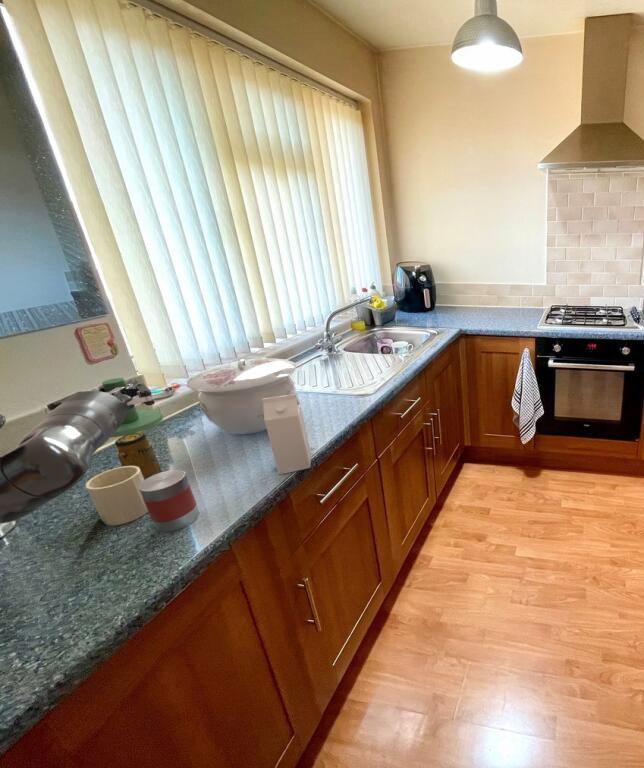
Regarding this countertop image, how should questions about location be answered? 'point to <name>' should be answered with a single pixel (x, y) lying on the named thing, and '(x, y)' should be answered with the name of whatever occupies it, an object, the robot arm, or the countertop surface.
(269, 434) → the milk carton
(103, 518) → the cup
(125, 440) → the condiment
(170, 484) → the tin
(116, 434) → the lid
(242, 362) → the chamber pot
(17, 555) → the countertop surface
